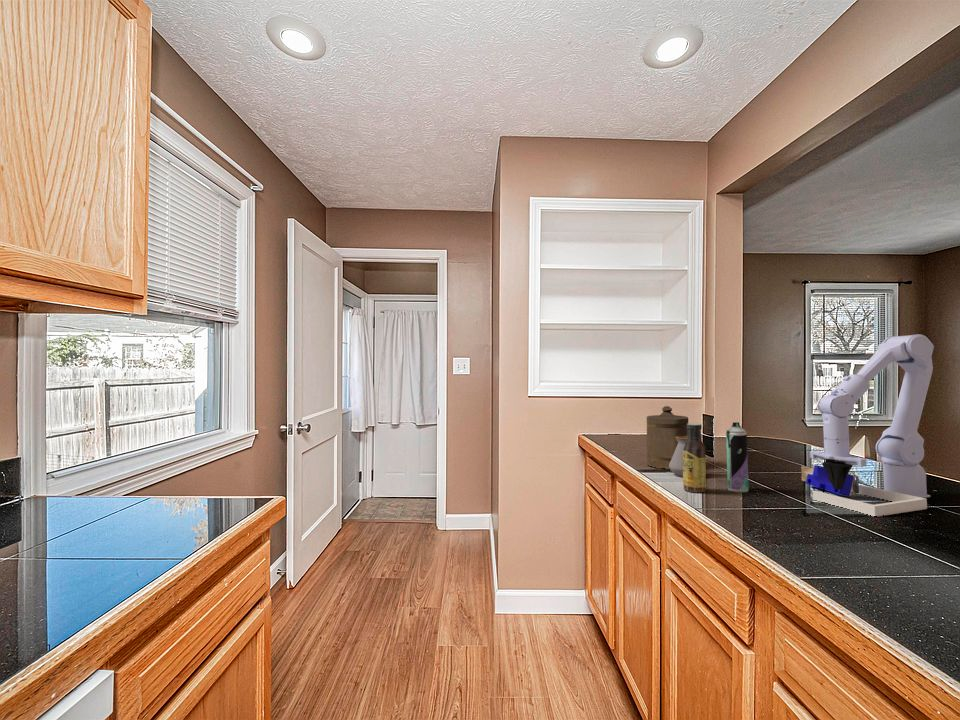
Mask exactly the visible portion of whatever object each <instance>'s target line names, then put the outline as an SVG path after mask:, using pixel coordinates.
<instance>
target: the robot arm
mask: <svg viewBox="0 0 960 720" xmlns="http://www.w3.org/2000/svg"><path fill="white" fill-rule="evenodd" d="M934 347H935V345H934V344H933V343H932V342H931V340H930V339H929V338H928V337H927V336H926V335H923V334H920V333H919V334H911V335H910V334H909V335H898V336H895V335H892V336H888V337H886V338H885V339H884V340H883V341H882V342H881V343H879V345H878V346H877V349H876V351H875V353H873V355H871V357H870V358H869V359H868V360H867V362H865V364H864V365H863V366H862V367H861V369H859V371H858V372H857V373H856V374H855V373H854V374H849V375H845V376H844V377H843V378H842V382H840V384H838V385H837V387H836V388H834V389H833V388H832V390H831V391H830V394H827V395H824V396H823V397H821V399H820V400H819V403H818V404H817V406H816V407H817V410H818V411H819V412H820V413H821V418H822V419H821V420H822V427H823V432H822V433H823V451H820V450H810V451H809V458H810V459H817V460H823V461H822V462H821V464H822V465H821V466H822V467H824V468H825V470H826V471H827V473H828V475H829V477H830V480H831V483H832V486H833V488H834V489H843V486H844V482H845V479H846V477H847V474H850V470H851V469H852V468H853V466H857V467H860V468H864V467H867V465H868V464H867V458H863V457H858V456H854V455H850V432H849V431H850V428H849V426H850V425H849V416H850V415H851V414H852V413H853V412H854V409H855V404H856V402H858V400H859V399H861V398H862V397H863V396H864V394H865V393H866V392H868V391H869V389H870V385H871V384H870V382H871V381H872V380H873V379H874V378H875V377H876V376H878V375H879V374H880V373H881V372H882V371H883V370H884V369H885V368H886V367H888V366H889V365H890V364H891V363H895V364H896V365H898V366H899V367H900V368H902V369H903V371H904V375H903V379H902V384H901V388H900V391H899V395H898V399H897V403H896V406H895V411H894V413H893V419H892V422H891V426H889V427H887V428H886V429H885V430H883V431H882V435H881V436H880V438H879V439H878V440H877V441H876V444H875V452H876V455H878V457H880V459H881V460H880V461H881V462H882V474H883V490H887V491H892V492H897V493H902V494H906V495H911V496H916V497H921V498H925V499H927V498H930V497H931V495H930V494H928V492H927V491H928V490H927V472H926V471H925V469H924V467H923V466H922V465H920V463H921V462H922V461H923V460H924V458H925V449H924V443H925V439H924V438H923V436H922V435H920V433H919V432H918V430H919V425H920V421H921V416H922V414H923V408H924V406H925V402H926V397H927V394H928V389H929V386H930V381H931V378H932V374H933V371H934V365H933V358H932V356H933V352H934V349H935V348H934Z"/></svg>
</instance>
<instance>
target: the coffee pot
mask: <svg viewBox="0 0 960 720" xmlns="http://www.w3.org/2000/svg"><path fill="white" fill-rule="evenodd" d="M675 438H676V440H677V441H678V445H677V447H676V449H675V452H674V454H673V457H672V459H671V461H670V464H669V468H670V471H671V473H673V474H674V476H676V475H677V476H676V477H680V476H681V477H680V478H683V449H684V446H685V443H686V440H687V436H677V437H675Z"/></svg>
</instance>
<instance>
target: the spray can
mask: <svg viewBox="0 0 960 720" xmlns="http://www.w3.org/2000/svg"><path fill="white" fill-rule="evenodd" d="M725 437H726V439H725V441H726V443H725V444H726V445H725V447H726V467H727V468H726V471H727V472H726V473H727V475H726V476H727V477H726V478H727V489H728V490H727V491H729V492H734V493H748V492H749V490H750V489H749V466H748V462H749V460H748V459H749V458H748V455H749V454H748V433H747V430H746V429H744V428H743V427H742V426H741V425H740V422H737V421H736V422H734V421H733V422H732V425H731V426H730V427H729V428H728V429H726V432H725Z"/></svg>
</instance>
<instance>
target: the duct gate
mask: <svg viewBox="0 0 960 720" xmlns="http://www.w3.org/2000/svg"><path fill="white" fill-rule="evenodd" d="M800 470H801V471H800V473H801V481H802V482H805V483H806V480H807V475H808V474H811V475H813V471H814V467H810V466H809V467H808V466H805V465H804V466H801V469H800ZM828 478H829V481H830V483H831V480H830V477H829V475H828ZM831 484H832V483H831ZM850 493H855V489H854V477H853V482H852V487H851V492H850Z"/></svg>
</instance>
